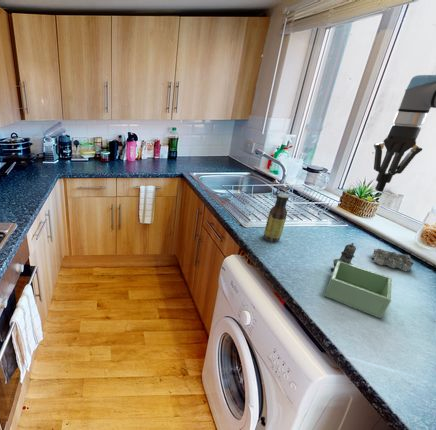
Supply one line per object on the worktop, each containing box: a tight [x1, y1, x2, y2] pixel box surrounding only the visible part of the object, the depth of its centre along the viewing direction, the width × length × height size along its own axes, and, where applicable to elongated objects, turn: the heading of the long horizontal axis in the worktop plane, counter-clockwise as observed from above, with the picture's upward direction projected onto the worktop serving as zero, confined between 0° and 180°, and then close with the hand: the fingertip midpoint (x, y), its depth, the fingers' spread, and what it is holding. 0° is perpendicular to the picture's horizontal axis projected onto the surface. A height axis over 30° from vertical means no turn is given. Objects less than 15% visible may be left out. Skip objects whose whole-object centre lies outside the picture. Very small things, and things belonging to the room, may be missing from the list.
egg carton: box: [371, 248, 415, 272], centre depth 105 cm, size 11×8×4 cm
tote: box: [323, 261, 393, 319], centre depth 88 cm, size 14×14×7 cm
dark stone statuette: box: [330, 242, 357, 273], centre depth 98 cm, size 6×6×12 cm
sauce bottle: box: [263, 193, 289, 243], centre depth 117 cm, size 6×6×20 cm
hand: (378, 190), depth 107 cm, fingers closed
